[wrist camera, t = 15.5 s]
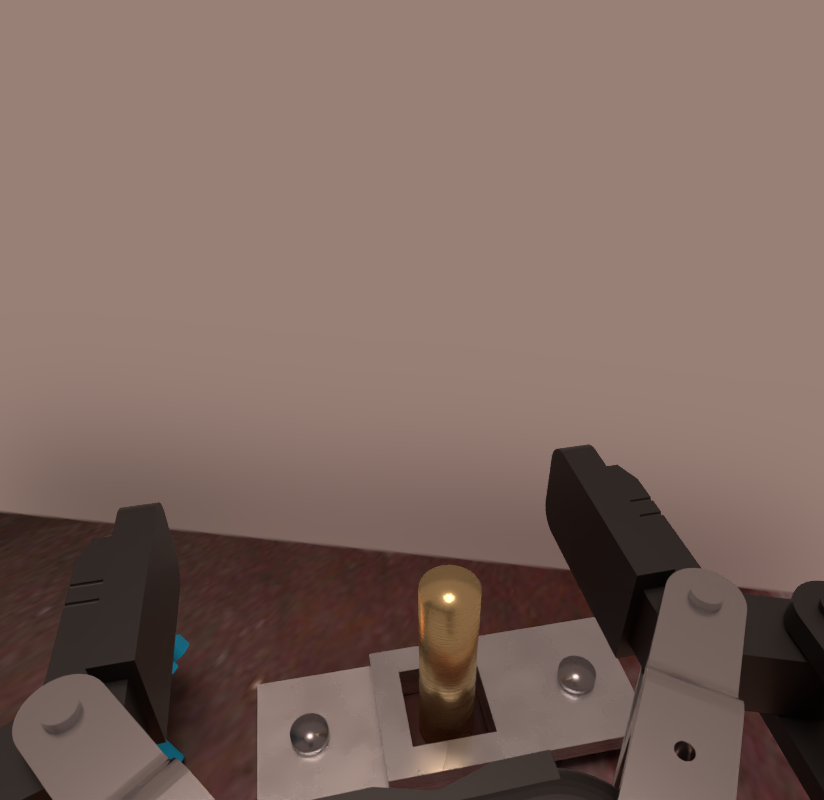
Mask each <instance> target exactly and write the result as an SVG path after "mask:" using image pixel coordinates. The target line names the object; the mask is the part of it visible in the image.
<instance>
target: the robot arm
mask: <svg viewBox="0 0 824 800" xmlns="http://www.w3.org/2000/svg"><path fill="white" fill-rule="evenodd" d="M546 516H547V521H548V524H549V527H550V530H551V532H552V534H553V536H554V538H555V540H556V542H557V544H558V546H559V548H560V550H561V552H562V554H563V556H564V558H565V560H566V562H567V564H568V565H569V568H570V570H571V572H572V574H573V576H574V577H575V579H576V581H577V583H578V585H579V587H580V589H581V591H582V593H583V595H584V597H585V599H586V601H587V603H588V605H589V607H590V609H591V611H592V613H593V615H594V617H595V619H596V621H597V623H598V625H599V626H600V628H601V630H602V632H603V634H604V636H605V638H606V640H607V642H608V644H609V646H610V648H611V650H612V652H613V654H614V656H615V658H620V657H626V656H631V655H636V657H637V659H638V661H639V663H640V664H641V670H640V673H639V677H638V681H637V685H636V689H635V694H634V698H633V702H632V706H631V710H630V714H629V719H628V723H627V727H626V731H625V735H624V740H623V744H622V748H621V752H620V756H619V760H618V764H617V768H616V771H615V775H614V779H613V782H612V785H611V784H609V783H607V782H605V781H603V780H601V779H599V778H596V777H594V776H592V775H589V774H586V773H583V772H579V771H575V770H570V769H565V768H557V767H556V764H555V762H554V759H553V756H552V754H551V751H550V750H545V751H540V752H535V753H531V754H526V755H521V756H517V757H512V758H507V759H502V760H498V761H493V762H492V763H490V764H488V765H486V766H484V767H482V768H480V769H478V770H476V771H474V772H473V773H471V774H469V775H467V776H465V777H463V778H461V779H459V780H457V781H455V782H454V783H452V784H450V785H448V786H446V787H444V788H442V789H439V790H418V789H401V788H384V787H370V788H365V789H360V790H355V791H351V792H346V793H341V794H336V795H332V796H327V797H322V798H317V799H313V800H736V794H737V784H738V773H739V763H740V752H741V742H742V731H743V721H744V710H745V711H753V712H759V713H760V715H761V716H762V718H763V720H764V722H765V723H766V725H767V727H768V728H769V730H770V732H771V733H772V735H773V737H774V739H775V740H776V742H777V744H778V745H779V747H780V749H781V750H782V752H783V754H784V755H785V757H786V759H787V761H788V762H789V764H790V766H791V767H792V769H793V771H794V772H795V774H796V776H797V778H798V779H799V781H800V783H801V784H802V786H803V788H804V789H805V791H806V793H807V794H808V796H809V798H810V800H824V581H810V582H806V583H804V584H801V585H800V586H798V587H797V589H796V590H795V591H794V593H793V596H792V598H791V599H783V598H773V597H764V596H755V595H748V594H743V593H741V591H740V590H739V589H738V588H737V587H736V586H735V585H734V584H733V583H732V582H731V581H730V580H728V579H727V578H725V577H723V576H722V575H719V574H718V573H715V572H713V571H710V570H706V569H702V568H701V567H700V566H699V564H698V563H697V562H696V560H695V559H694V557H693V556H692V555H691V553H690V552H689V550H688V549H687V548H686V547H685V545H684V543H683V542H682V541H681V539H680V538H679V536H678V535H677V534H676V532H675V531H674V529H673V528H672V527H671V525H670V524H669V523H668V521H667V520H666V518H665V517H664V516H663V515H661V511H660V510H659V508H658V507H657V506H656V504H655V503H654V501H651V499H650V496H649V494H648V493H647V492H646V490H645V489H644V487H643V486H642V484H641V483H640V482H639V481H638V479H637V478H635V477H634V476H632V475H631V474H629V473H628V472H627V471H625V470H624V469H623V468H621V467H620V466H618V465H613V466H606V465H605V463H604V462H603V460H602V459H601V458H600V456H599V454H598V453H597V451H596V450H595V449H594V447H592V446H591V445H582V446H575V447H567V448H560V449H556V450H554V452H553V455H552V460H551V467H550V475H549V482H548V489H547V496H546ZM179 591H180V574H179V565H178V559H177V555H176V551H175V548H174V544H173V541H172V537H171V534H170V530H169V527H168V523H167V520H166V516H165V513H164V509H163V507H162V505H161V503H152V504H145V505H138V506H130V507H123V508H120V509H119V510H118V513H117V517H116V521H115V526H114V531H113V536H110V537H103V538H96V539H92V540H91V542H90V543H89V544H88V546H87V547H86V548H85V550H84V551H83V552H82V554H81V555H80V556H79V558H78V559H77V560H76V562H75V566H74V570H73V574H72V578H71V582H70V589H68V593H67V597H66V601H65V608H64V609H63V613H62V617H61V621H60V625H59V629H58V632H57V636H56V640H55V644H54V648H53V652H52V656H51V660H50V664H49V668H48V672H47V675H46V679H45V682H44V685H43V686H42V687H40V688H39V689H38V690H37V691H35V692H34V693H33V694H32V695H31V696H30V697H29V698H28V699H27V700H26V701H25V702H24V704H23V705H22V706H21V708H20V709H19V711H18V713H17V715H16V717H15V719H14V720H13V721H11V722H10V723H8V724H7V725H5V726H3V727H2V728H0V800H215V799H214V798H213V797H212V796H211V795H210V794H209V792H208V791H207V790H206V789H205V788H204V787H203V786H202V784H201V783H200V782H199V781H198V780H197V779H196V778H195V776H194V775H193V774H192V773H191V772H190V771H189V770H188V769H187V767H186V766H185V765H184V764H183V763H182V762H180V761H179V760H178V759H177V758H172V759H169V758H168V757H167V756H166V755H165V754H164V753H163V752H162V751H161V750H160V748H159V747H158V746H157V745H156V744H161V743H166V737H167V726H168V714H169V703H170V692H171V681H172V670H173V658H174V647H175V636H176V625H177V614H178V603H179Z"/></svg>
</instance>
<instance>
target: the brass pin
mask: <svg viewBox="0 0 824 800" xmlns="http://www.w3.org/2000/svg"><path fill="white" fill-rule="evenodd" d="M481 591H482V590H481V584H480V582H479V580H478V578H477V577H476V576H475V575H474V574H473V573H472V572H471V571H469V570H467V569H465V568H463V567H460V566H455V565H442V566H438V567H435V568H433V569H431V570H429V571H428V572H426V573H425V574H424V575H423V577H422V578H421V580H420V582H419V586H418V602H419V727H420V732H421V735H422V737H423V739H424V740H425V741H426V743H428V744H432V743H438V742H443V741H449V740H454V739H459V738H465V737H470V736H471V734H472V729H473V714H474V699H475V683H476V668H477V653H478V637H479V622H480V606H481Z"/></svg>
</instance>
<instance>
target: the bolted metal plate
mask: <svg viewBox="0 0 824 800" xmlns="http://www.w3.org/2000/svg"><path fill="white" fill-rule="evenodd" d="M369 661H370V666H368V667H362V668H356V669H350V670H344V671H338V672H332V673H326V674H320V675H314V676H308V677H302V678H296V679H290V680H284V681H278V682H272V683H266V684H260V685H258V716H257V800H313V799H317V798H322V797H327V796H332V795H336V794H341V793H346V792H351V791H355V790H360V789H365V788H370V787H384V788H401V789H418V790H439V789H442V788H444V787H446V786H448V785H450V784H452V783H454V782H455V781H457V780H459V779H461V778H463V777H465V776H467V775H469V774H471V773H473V772H474V771H476V770H478V769H480V768H482V767H484V766H486V765H488V764H490V763H492V762H493V761H498V760H502V759H507V758H512V757H517V756H521V755H526V754H531V753H535V752H540V751H545V750H550V751H551V754H552V756H553V759H554V761H558V760H564V759H569V758H574V757H579V756H584V755H589V754H595V753H600V752H605V751H610V750H615V749H620V748H622V744H623V740H624V735H625V731H626V727H627V723H628V719H629V714H630V710H631V706H632V702H633V698H634V694H635V692H634V690H633V688H632V686H631V684H630V682H629V680H628V678H627V676H626V674H625V672H624V670H623V668H622V666H621V664H620V662H619V660H618V658H615V656H614V654H613V652H612V650H611V648H610V646H609V644H608V642H607V640H606V638H605V636H604V634H603V632H602V630H601V628H600V626H599V625H598V623H597V621H596V619H595V617H592V618H586V619H580V620H574V621H568V622H562V623H556V624H550V625H543V626H537V627H531V628H525V629H519V630H513V631H507V632H501V633H495V634H489V635H483V636H479V637H478V653H477V668H476V683H475V688H476V692H477V695H478V699H479V702H480V706H481V709H482V712H483V716H484V719H485V723H486V726H487V730H488V733H486V734H481V735H476V736H470V737H465V738H459V739H454V740H449V741H443V742H438V743H432V744H427V745H422V746H416V747H413V746H412V740H411V735H410V730H409V724H408V719H407V714H406V709H405V703H404V698H403V695H406V694H412V693H418V692H419V646H416V647H409V648H403V649H397V650H391V651H385V652H379V653H373V654H369Z"/></svg>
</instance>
